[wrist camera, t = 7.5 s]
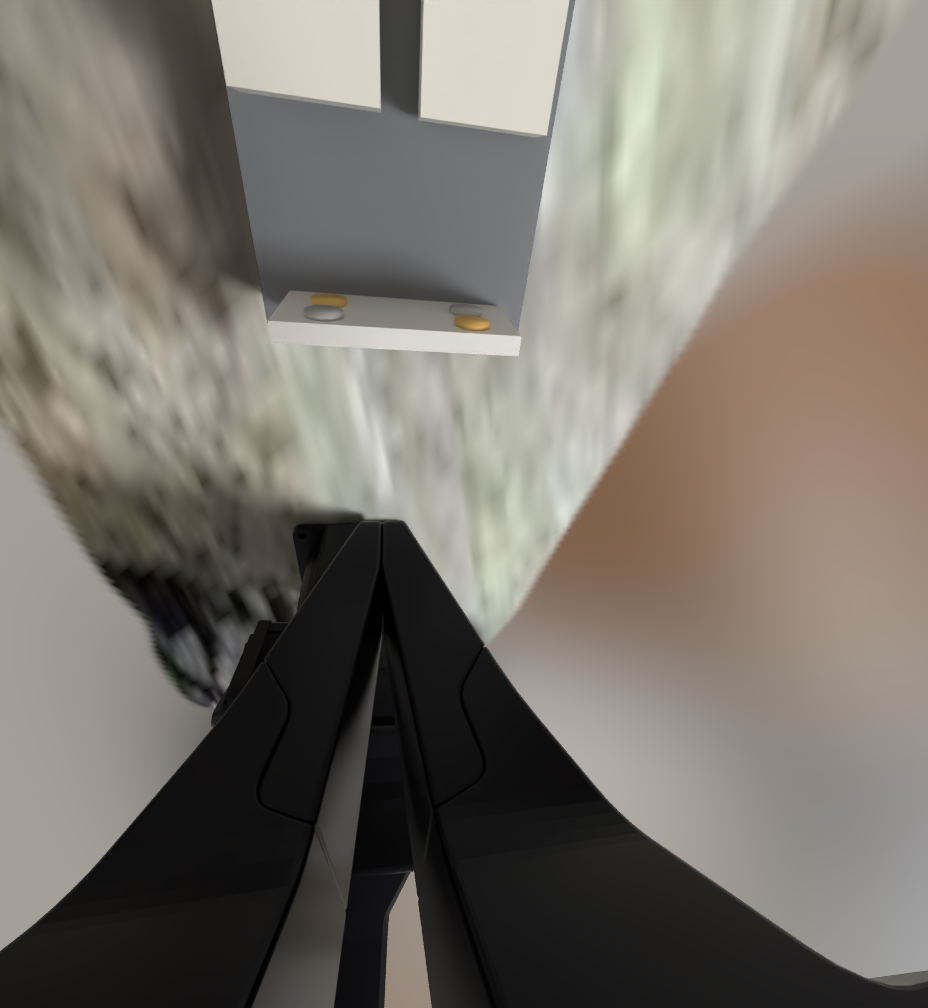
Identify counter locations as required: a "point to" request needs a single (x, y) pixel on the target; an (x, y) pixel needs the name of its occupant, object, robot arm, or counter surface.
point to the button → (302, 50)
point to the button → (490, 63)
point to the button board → (390, 213)
